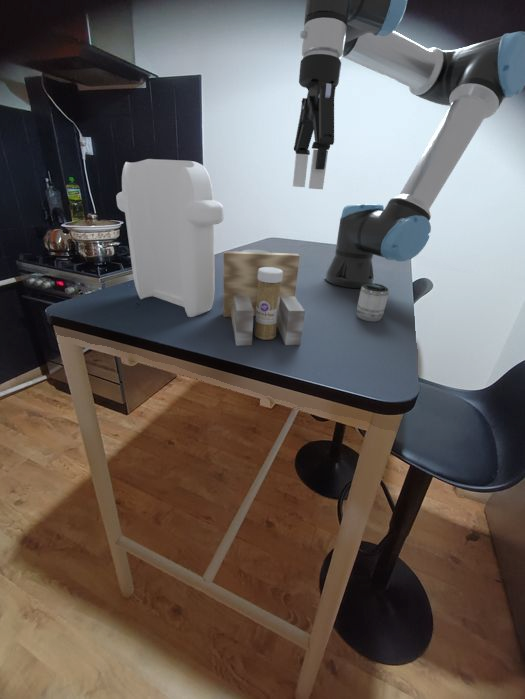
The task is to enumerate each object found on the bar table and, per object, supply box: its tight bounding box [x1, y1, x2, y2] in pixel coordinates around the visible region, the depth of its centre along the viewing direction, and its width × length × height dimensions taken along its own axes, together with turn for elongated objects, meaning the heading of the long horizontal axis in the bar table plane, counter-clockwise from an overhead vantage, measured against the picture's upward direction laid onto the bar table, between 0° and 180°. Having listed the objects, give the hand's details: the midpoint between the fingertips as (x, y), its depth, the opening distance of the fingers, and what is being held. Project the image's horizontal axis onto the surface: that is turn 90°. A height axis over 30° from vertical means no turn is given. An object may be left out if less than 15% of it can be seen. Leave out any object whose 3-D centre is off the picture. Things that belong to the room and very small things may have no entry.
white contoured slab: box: [115, 158, 225, 318], centre depth 70 cm, size 27×11×30 cm, turn 56°
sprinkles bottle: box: [253, 267, 283, 341], centre depth 61 cm, size 5×5×13 cm
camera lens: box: [356, 282, 390, 322], centre depth 75 cm, size 6×6×8 cm
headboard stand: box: [222, 250, 306, 347], centre depth 64 cm, size 16×16×14 cm
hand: (306, 188), depth 68 cm, fingers open, 13 cm apart
